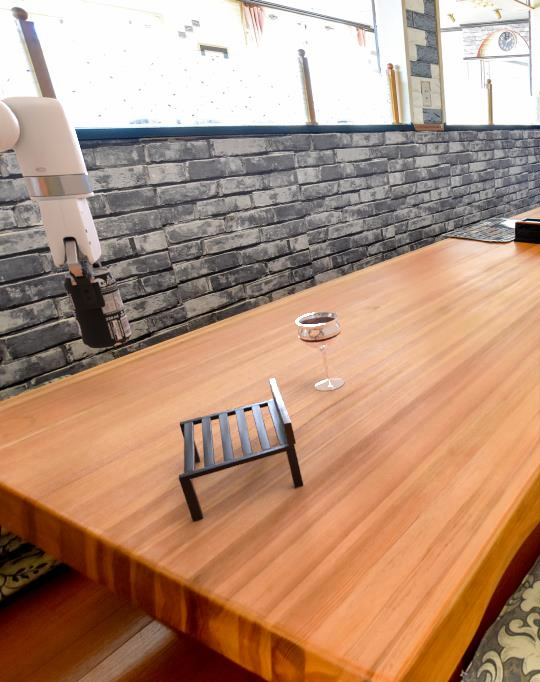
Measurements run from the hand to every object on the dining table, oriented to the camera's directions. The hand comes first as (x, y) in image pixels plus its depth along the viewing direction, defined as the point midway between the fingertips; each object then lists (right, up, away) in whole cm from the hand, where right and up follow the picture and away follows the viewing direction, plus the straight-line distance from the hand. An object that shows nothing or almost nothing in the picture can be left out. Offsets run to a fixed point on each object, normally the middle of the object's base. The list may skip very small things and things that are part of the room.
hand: (96, 301), depth 86 cm
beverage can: (0, -7, +3) cm, 7 cm away
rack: (+33, -23, -17) cm, 44 cm away
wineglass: (+36, -14, +6) cm, 39 cm away
